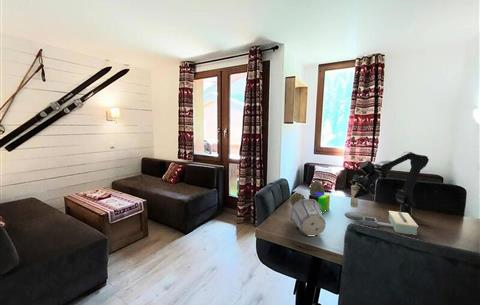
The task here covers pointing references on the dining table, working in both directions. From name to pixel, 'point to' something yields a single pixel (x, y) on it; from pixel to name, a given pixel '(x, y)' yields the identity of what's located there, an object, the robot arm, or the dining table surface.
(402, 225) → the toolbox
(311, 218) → the tipped over flowerpot
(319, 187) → the decorative egg
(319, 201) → the puzzle toy
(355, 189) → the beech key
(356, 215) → the rubber mat
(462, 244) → the dining table surface
